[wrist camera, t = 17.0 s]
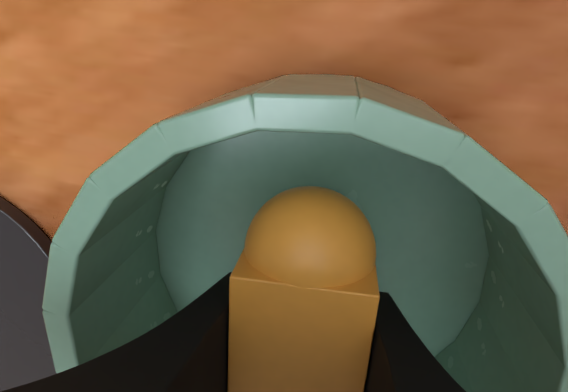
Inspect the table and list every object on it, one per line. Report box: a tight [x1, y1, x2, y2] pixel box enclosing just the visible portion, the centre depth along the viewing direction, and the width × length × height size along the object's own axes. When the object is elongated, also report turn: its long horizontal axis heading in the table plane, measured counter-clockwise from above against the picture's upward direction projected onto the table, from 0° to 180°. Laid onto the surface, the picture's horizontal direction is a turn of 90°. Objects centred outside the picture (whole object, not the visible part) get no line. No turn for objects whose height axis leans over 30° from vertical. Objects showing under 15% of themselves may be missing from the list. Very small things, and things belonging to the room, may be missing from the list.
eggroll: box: [227, 186, 380, 392], centre depth 11 cm, size 8×3×3 cm, turn 176°
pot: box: [42, 74, 568, 392], centre depth 12 cm, size 12×12×6 cm
